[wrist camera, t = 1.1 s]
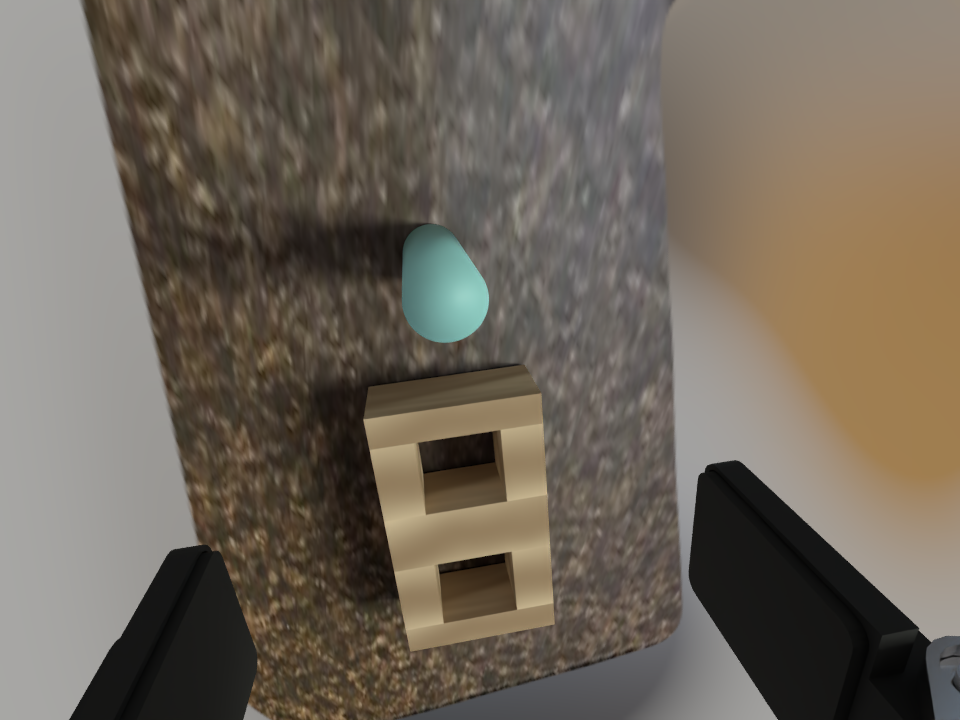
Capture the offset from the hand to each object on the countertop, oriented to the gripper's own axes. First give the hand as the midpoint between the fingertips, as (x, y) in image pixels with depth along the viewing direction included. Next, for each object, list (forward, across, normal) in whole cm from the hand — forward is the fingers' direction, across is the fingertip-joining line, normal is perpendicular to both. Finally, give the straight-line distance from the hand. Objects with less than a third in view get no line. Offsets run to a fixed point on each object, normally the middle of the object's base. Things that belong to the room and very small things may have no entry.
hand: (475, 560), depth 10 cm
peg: (+20, 0, -2) cm, 20 cm away
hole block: (+19, -1, +13) cm, 23 cm away
